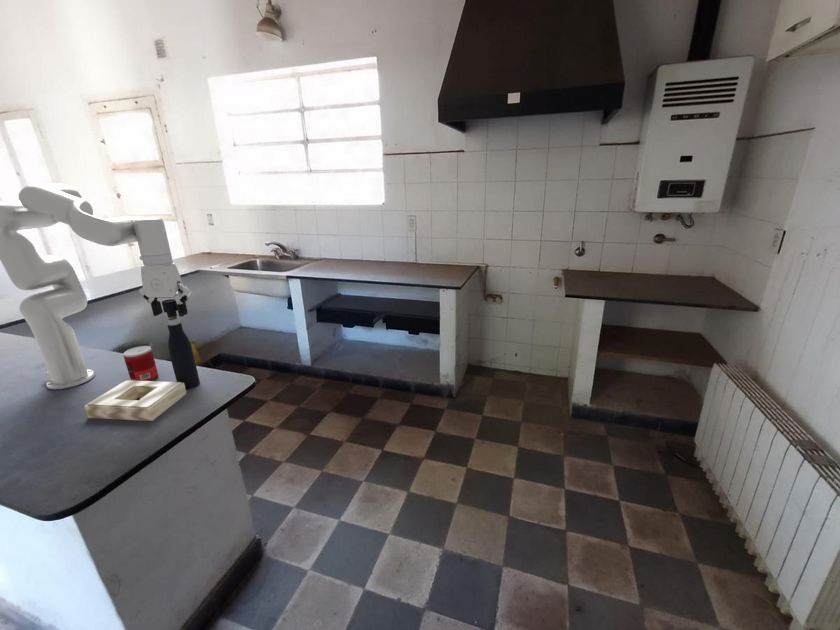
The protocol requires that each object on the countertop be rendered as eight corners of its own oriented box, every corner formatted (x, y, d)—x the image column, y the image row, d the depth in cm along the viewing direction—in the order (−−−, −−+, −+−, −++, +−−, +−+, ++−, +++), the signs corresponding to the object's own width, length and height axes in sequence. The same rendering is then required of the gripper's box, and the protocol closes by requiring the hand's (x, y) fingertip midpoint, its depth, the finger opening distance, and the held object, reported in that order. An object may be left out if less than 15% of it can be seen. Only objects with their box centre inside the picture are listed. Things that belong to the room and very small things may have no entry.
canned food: (163, 374, 137) (156, 346, 133) (146, 385, 129) (138, 356, 126) (144, 373, 138) (136, 345, 134) (125, 384, 130) (116, 355, 126)
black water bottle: (183, 392, 125) (161, 305, 115) (174, 386, 129) (153, 301, 118) (203, 384, 130) (184, 300, 120) (194, 378, 133) (175, 296, 123)
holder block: (88, 417, 112) (83, 404, 110) (129, 391, 126) (126, 379, 124) (152, 421, 110) (148, 407, 109) (186, 393, 124) (183, 381, 123)
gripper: (120, 262, 112) (136, 318, 118) (176, 262, 110) (189, 319, 116) (140, 257, 119) (154, 310, 125) (193, 257, 117) (204, 311, 123)
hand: (170, 314), depth 121 cm, fingers open, 7 cm apart
